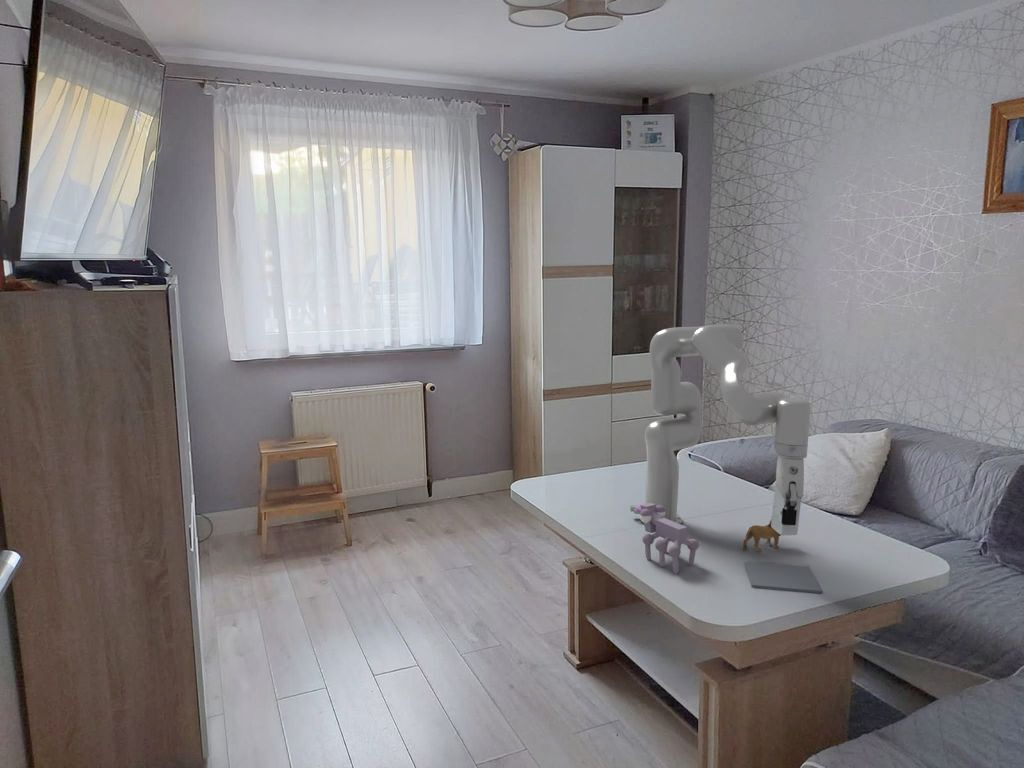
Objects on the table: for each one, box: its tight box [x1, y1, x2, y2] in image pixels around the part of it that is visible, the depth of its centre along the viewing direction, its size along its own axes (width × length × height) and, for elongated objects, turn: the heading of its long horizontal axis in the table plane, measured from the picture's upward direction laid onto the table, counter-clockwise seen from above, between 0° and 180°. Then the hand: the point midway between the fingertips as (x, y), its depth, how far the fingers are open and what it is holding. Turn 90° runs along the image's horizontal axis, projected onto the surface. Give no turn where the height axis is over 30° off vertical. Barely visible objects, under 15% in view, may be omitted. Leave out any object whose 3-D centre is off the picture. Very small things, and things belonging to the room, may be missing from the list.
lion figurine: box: [742, 518, 781, 552], centre depth 192 cm, size 15×5×9 cm, turn 118°
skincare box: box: [771, 481, 802, 536], centre depth 171 cm, size 6×4×12 cm
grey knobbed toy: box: [635, 503, 700, 574], centre depth 185 cm, size 20×11×14 cm, turn 34°
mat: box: [743, 560, 822, 594], centre depth 174 cm, size 16×14×1 cm
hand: (785, 518), depth 172 cm, fingers closed on skincare box, 6 cm apart
